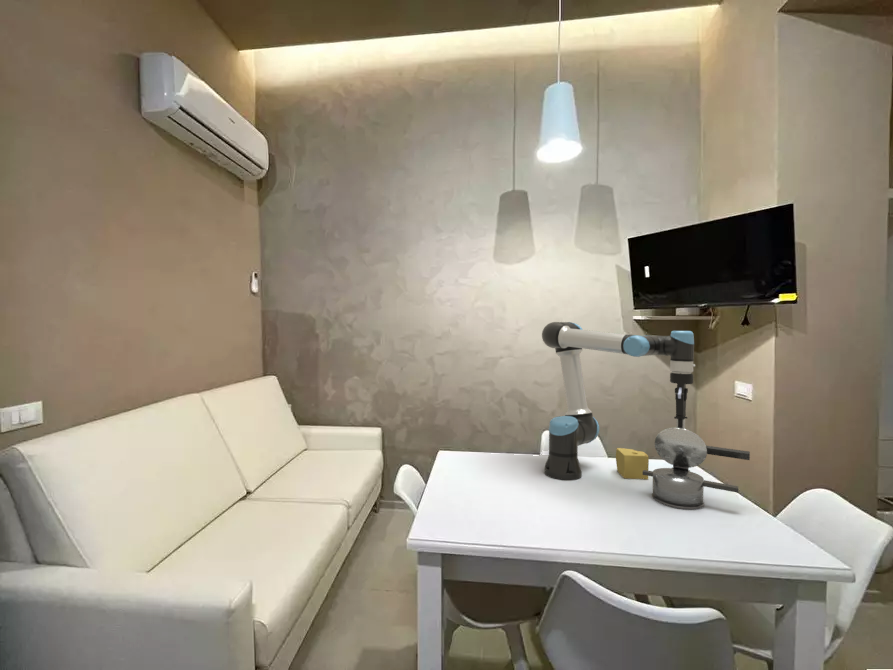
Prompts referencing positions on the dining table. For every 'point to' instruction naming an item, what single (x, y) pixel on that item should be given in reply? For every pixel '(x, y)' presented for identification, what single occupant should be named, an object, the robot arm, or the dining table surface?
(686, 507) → the pot
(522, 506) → the dining table surface
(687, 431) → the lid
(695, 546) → the dining table surface
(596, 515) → the dining table surface
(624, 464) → the cheese
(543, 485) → the dining table surface
